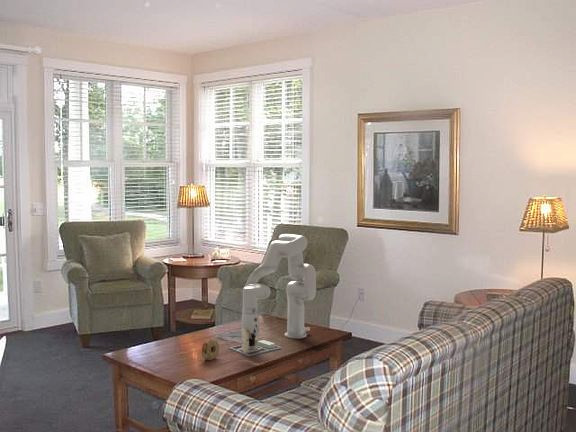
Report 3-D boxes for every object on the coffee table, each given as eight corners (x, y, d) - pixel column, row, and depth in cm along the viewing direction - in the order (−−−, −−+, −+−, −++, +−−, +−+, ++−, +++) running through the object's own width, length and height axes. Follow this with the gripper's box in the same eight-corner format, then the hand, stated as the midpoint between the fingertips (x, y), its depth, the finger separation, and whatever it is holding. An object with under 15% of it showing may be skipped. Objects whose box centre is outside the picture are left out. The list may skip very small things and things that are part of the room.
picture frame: (216, 338, 355) (240, 346, 339) (216, 334, 354) (240, 342, 339) (239, 333, 366) (263, 341, 350) (239, 329, 366) (263, 336, 350)
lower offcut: (263, 346, 339) (263, 343, 339) (275, 351, 332) (275, 347, 332) (256, 348, 336) (256, 344, 336) (268, 352, 328) (268, 349, 328)
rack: (261, 343, 343) (261, 340, 342) (281, 351, 330) (281, 347, 330) (228, 351, 328) (228, 347, 328) (248, 359, 316) (248, 355, 315)
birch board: (254, 348, 330) (254, 326, 329) (257, 350, 328) (257, 327, 327) (241, 351, 325) (241, 328, 324) (245, 352, 323) (245, 330, 322)
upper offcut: (263, 343, 338) (263, 339, 338) (274, 347, 332) (274, 343, 332) (257, 345, 335) (257, 341, 335) (268, 348, 329) (268, 344, 329)
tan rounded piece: (206, 362, 309) (206, 342, 308) (200, 361, 311) (200, 341, 310) (220, 357, 317) (220, 338, 317) (215, 356, 320) (215, 336, 319)
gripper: (265, 312, 321) (265, 347, 323) (246, 306, 333) (246, 340, 335) (253, 314, 316) (253, 350, 318) (234, 308, 328) (234, 342, 330)
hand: (249, 344), depth 326 cm, fingers closed on birch board, 3 cm apart
